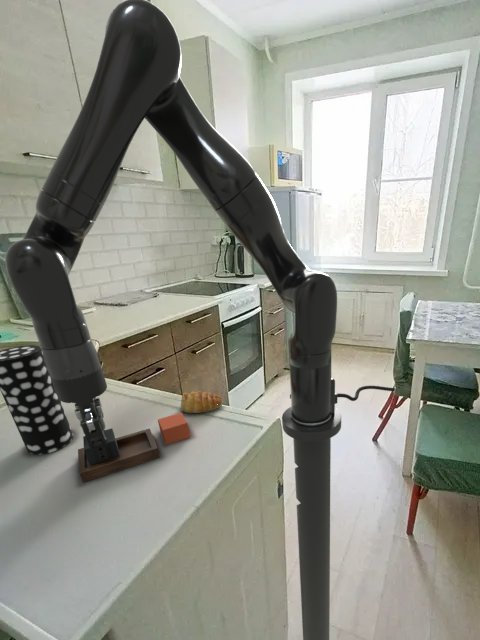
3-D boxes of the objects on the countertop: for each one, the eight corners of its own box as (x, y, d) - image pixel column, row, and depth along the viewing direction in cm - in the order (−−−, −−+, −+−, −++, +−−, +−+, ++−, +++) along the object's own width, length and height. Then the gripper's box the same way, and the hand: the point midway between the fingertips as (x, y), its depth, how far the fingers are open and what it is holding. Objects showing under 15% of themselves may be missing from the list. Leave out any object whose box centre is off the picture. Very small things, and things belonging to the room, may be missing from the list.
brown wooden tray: (151, 437, 74) (149, 428, 73) (160, 457, 67) (157, 448, 66) (81, 458, 68) (77, 449, 67) (82, 483, 61) (78, 473, 61)
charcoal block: (117, 443, 69) (112, 427, 67) (119, 456, 65) (115, 440, 63) (88, 451, 67) (83, 436, 65) (89, 465, 63) (83, 449, 61)
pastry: (223, 399, 88) (221, 385, 86) (221, 412, 82) (219, 398, 80) (185, 402, 87) (182, 388, 85) (180, 416, 81) (177, 401, 79)
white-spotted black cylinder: (70, 427, 79) (38, 342, 70) (76, 443, 73) (42, 352, 64) (26, 441, 74) (-14, 352, 66) (28, 460, 68) (-15, 364, 60)
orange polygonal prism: (184, 426, 77) (181, 412, 75) (190, 437, 73) (187, 422, 71) (160, 433, 75) (157, 419, 73) (166, 444, 71) (162, 430, 69)
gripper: (103, 377, 54) (130, 466, 61) (97, 351, 65) (120, 428, 73) (46, 390, 51) (82, 482, 58) (50, 360, 62) (80, 440, 70)
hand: (103, 452), depth 66 cm, fingers closed on charcoal block, 5 cm apart
